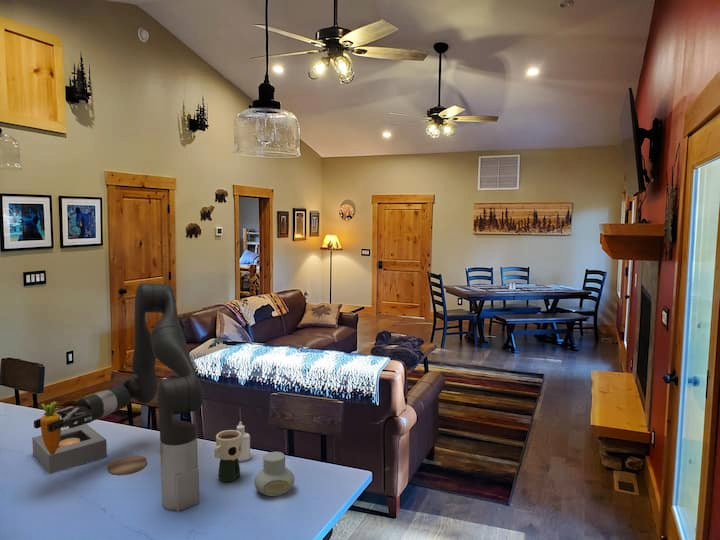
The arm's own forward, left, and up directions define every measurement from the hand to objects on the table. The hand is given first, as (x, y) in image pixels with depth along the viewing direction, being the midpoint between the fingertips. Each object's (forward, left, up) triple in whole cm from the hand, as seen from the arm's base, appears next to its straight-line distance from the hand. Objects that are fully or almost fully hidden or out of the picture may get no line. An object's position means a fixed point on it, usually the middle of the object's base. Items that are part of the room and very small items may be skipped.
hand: (41, 426), depth 141 cm
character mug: (-28, -40, -19) cm, 52 cm away
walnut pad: (0, -22, -19) cm, 29 cm away
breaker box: (+20, -12, -19) cm, 30 cm away
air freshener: (-43, -45, -19) cm, 65 cm away
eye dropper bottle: (-20, -49, -19) cm, 56 cm away
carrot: (+1, -3, -9) cm, 10 cm away
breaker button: (+20, -12, -16) cm, 28 cm away
